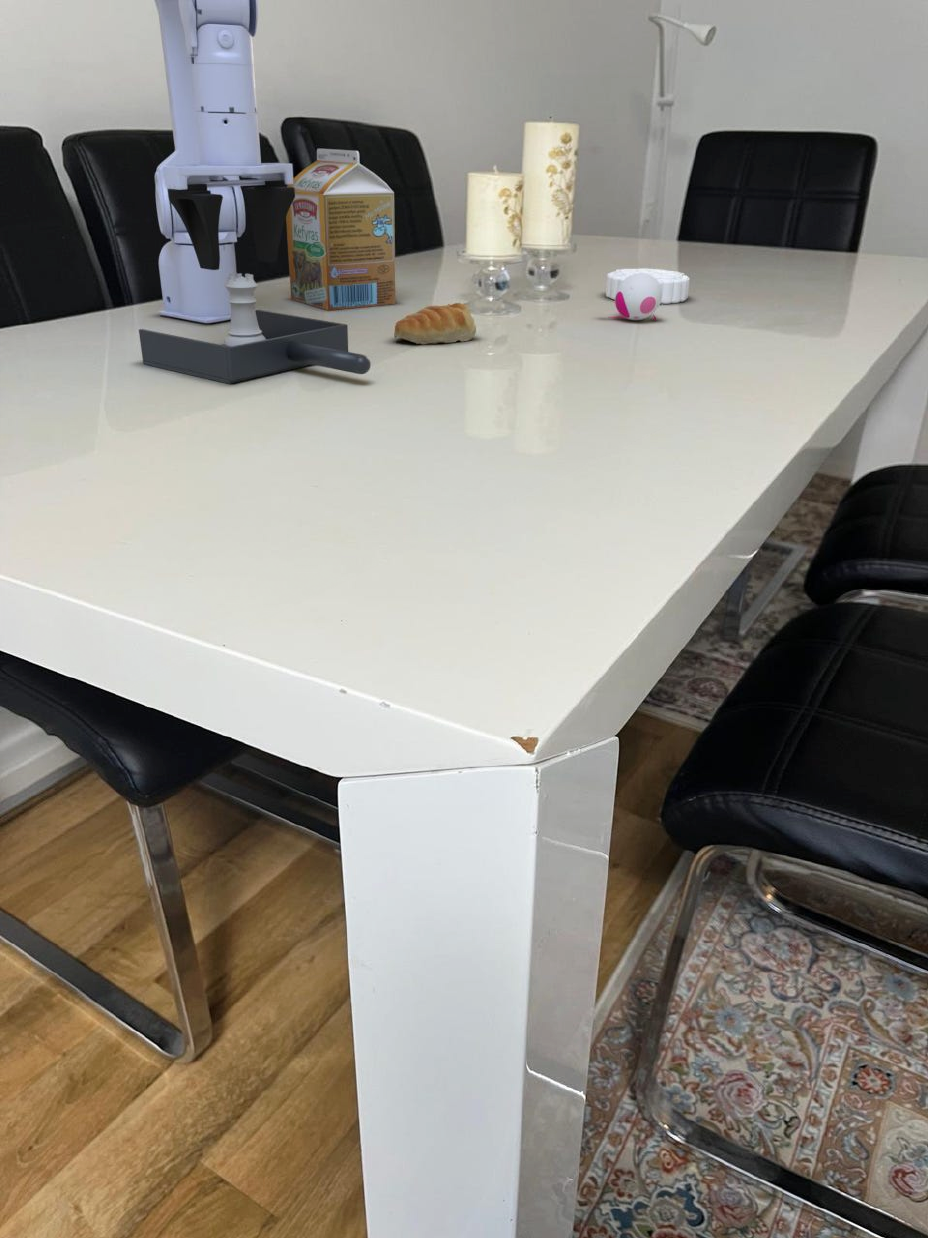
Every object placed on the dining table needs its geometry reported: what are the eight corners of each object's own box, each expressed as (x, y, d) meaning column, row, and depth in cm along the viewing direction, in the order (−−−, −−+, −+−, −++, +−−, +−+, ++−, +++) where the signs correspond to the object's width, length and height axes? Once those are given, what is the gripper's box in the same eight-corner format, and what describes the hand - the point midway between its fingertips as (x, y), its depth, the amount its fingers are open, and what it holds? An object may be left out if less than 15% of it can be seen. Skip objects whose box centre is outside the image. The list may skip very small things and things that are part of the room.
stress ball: (617, 339, 130) (592, 296, 128) (669, 305, 128) (645, 261, 126) (621, 348, 123) (595, 303, 121) (677, 313, 121) (651, 266, 119)
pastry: (415, 348, 106) (415, 313, 105) (381, 339, 111) (380, 304, 109) (481, 339, 112) (481, 305, 110) (445, 330, 116) (445, 297, 115)
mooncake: (674, 291, 148) (677, 266, 146) (697, 304, 137) (700, 278, 135) (597, 290, 147) (599, 266, 145) (614, 304, 136) (617, 277, 134)
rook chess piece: (227, 351, 101) (220, 271, 98) (270, 351, 102) (265, 272, 98) (222, 360, 98) (214, 278, 94) (266, 360, 98) (260, 278, 94)
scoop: (142, 363, 98) (138, 329, 96) (260, 340, 109) (258, 309, 108) (308, 402, 85) (306, 363, 84) (421, 371, 97) (421, 336, 95)
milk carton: (291, 299, 135) (281, 148, 126) (356, 293, 140) (351, 148, 132) (328, 310, 127) (321, 150, 119) (395, 303, 133) (393, 150, 124)
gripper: (193, 112, 84) (209, 276, 90) (311, 115, 94) (318, 262, 100) (142, 111, 87) (161, 268, 94) (261, 113, 98) (271, 255, 104)
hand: (239, 265), depth 97 cm, fingers open, 7 cm apart
